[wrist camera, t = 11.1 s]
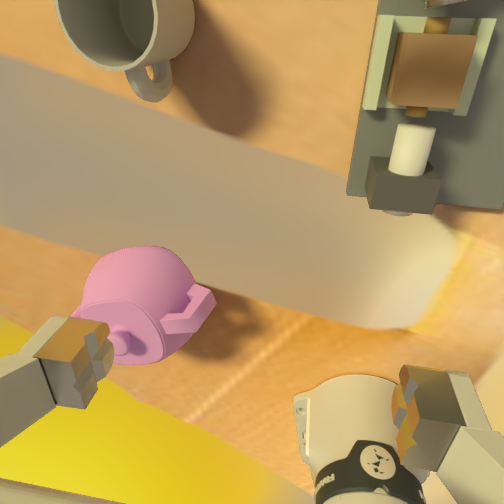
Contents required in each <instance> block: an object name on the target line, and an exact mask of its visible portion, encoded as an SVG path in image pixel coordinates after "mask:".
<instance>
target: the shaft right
mask: <svg viewBox="0 0 504 504" xmlns="http://www.w3.org/2000/svg"><path fill="white" fill-rule="evenodd" d="M462 1H467V0H425V9H426V8H432V7H437V6H442V5H447V4H452V3H457V2H462Z"/></svg>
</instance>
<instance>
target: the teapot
mask: <svg viewBox="0 0 504 504" xmlns="http://www.w3.org/2000/svg"><path fill="white" fill-rule="evenodd" d="M216 304H217V302H216V300H215V298H214V296H213V293H212V291H211V290H210V289H207V288H205V287H203V286H200V285H198V284H196V282H195V280H194V278H193V276H192V274H191V273H190V271H189V270H188V268H187V267H186V265H185V264H184V263H183V262H182V260H181V259H180V258H179V257H178V256H177V255H176V254H174V253H173V252H172V251H170V250H168V249H166V248H163V247H158V246H137V247H129V248H124V249H121V250H117V251H115V252H112V253H110V254H107V255H105V256H103V257H102V258H101V259H100V260H99V261H98V262H97V263H96V265H95V266H94V268H93V269H92V271H91V272H90V274H89V276H88V279H87V281H86V284H85V287H84V291H83V297H82V304H81V305H80V306H79V307H78V308H77V309H76V310H75V311H74V312H73V313H72V315H71V316H70V317H77V318H83V319H89V320H95V321H101V322H105V323H107V324H108V325H109V329H110V334H109V335H108V337H107V338H108V339H109V340H110V341H111V342H112V344H113V347H114V360H113V362H114V363H116V364H120V365H144V364H151V363H156V362H159V361H161V360H163V359H165V358H166V357H168V356H170V355H171V354H173V353H174V352H176V351H177V350H178V349H180V348H181V347H182V346H183V345H184V344H185V343H186V342H187V341H188V340H189V339H190V338H191V337H192V335H193V334H194V333H195V332H197V331H198V330H199V328H200V327H201V325H202V324H203V323H204V321H205V320H206V318H207V317H208V316H209V314H210V313H211V311H212V310H213V309H214V307H215V306H216Z"/></svg>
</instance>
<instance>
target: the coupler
mask: <svg viewBox="0 0 504 504" xmlns="http://www.w3.org/2000/svg"><path fill="white" fill-rule="evenodd" d="M450 22H451V17H427V19H426V23H425V28H424V32H423V33H410V32H398V36H397V41H396V46H395V51H394V56H393V61H392V66H391V71H390V76H389V81H388V86H387V91H386V97H387V98H388V99H389V100H390V101H391V103H392V104H393V105H401V106H406V110H405V115H407V116H411V117H426V114H427V110H428V107H433V108H450V109H457V105H458V102H459V99H460V95H461V92H462V89H463V85H464V82H465V78H466V75H467V72H468V68H469V65H470V62H471V58H472V55H473V52H474V48H475V45H476V41H477V38H478V36H476V35H460V34H447V33H448V29H449V26H450Z"/></svg>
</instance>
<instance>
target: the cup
mask: <svg viewBox="0 0 504 504" xmlns="http://www.w3.org/2000/svg"><path fill="white" fill-rule="evenodd" d="M54 4H55V9H56V13H57V17H58V21H59V24H60V26H61V28H62V30H63V32H64V34H65V36H66V38H67V39H68V41H69V42H70V44H71V45H72V46H73V48H74V49H75V50H76V51H77V52H78V53H79V54H80V55H81V56H82V57H83V58H84V59H86V60H87V61H88V62H90V63H92V64H93V65H95V66H97V67H99V68H102V69H106V70H110V71H124V70H125V73H126V76H127V79H128V81H129V83H130V85H131V87H132V89H133V91H134V92H135V93H136V94H137V96H138V97H140V98H142V99H143V100H146V101H149V102H159V101H161V100H162V99H164V98H165V97H166V96H167V95H168V94H169V93H170V90H171V87H172V71H171V65H170V61H169V60H170V59H172V58H174V57H176V56H178V55H179V54H180V53H181V52H183V51H184V50H185V48H186V47H187V45H188V44H189V42H190V40H191V37H192V35H193V32H194V26H195V10H194V4H193V1H192V0H54ZM151 64H152V67H153V71H154V79H153V81H152V80H151V79H150V78H149V76H148V74H147V71H146V68H145V66H147V65H151Z"/></svg>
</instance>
